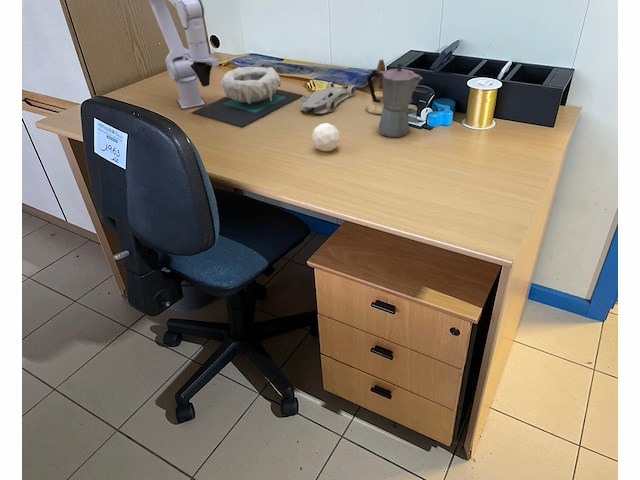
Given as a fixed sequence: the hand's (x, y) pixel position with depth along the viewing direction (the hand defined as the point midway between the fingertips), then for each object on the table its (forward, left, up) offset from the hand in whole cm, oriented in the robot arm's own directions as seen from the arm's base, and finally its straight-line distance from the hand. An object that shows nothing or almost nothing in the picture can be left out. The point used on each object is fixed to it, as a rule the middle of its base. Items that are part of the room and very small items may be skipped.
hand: (205, 85), depth 155 cm
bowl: (-5, +16, -10) cm, 20 cm away
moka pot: (+41, +46, -11) cm, 63 cm away
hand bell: (+24, +51, -11) cm, 57 cm away
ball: (+42, +24, -11) cm, 49 cm away
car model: (+10, +38, -11) cm, 41 cm away
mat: (-3, +13, -10) cm, 17 cm away
